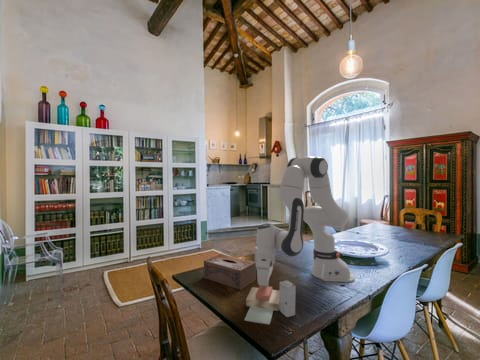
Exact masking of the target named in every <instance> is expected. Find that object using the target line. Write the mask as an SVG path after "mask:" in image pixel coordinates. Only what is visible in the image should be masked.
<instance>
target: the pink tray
mask: <svg viewBox="0 0 480 360" xmlns="http://www.w3.org/2000/svg"><path fill="white" fill-rule="evenodd" d="M257 288H258V290H257V292H256V299H259V300H267V301H269V300H270V297H271V294H272V290H273V286H269V285H268V286H259V285H258V287H257Z"/></svg>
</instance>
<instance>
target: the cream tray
mask: <svg viewBox="0 0 480 360" xmlns="http://www.w3.org/2000/svg"><path fill="white" fill-rule="evenodd" d="M258 288H259V287H255V286H254V287H253V286H252V287H251V288H250V291H249V293H248V295H247V297H246V299H245V307H249V308H250V306H253V307H260V308H267V309H273V312H274V311H276V312H279V311H280V310H279V289H277V290H276V289H272V294H271V297H270V300H269V301H267V300H259V299H256V292H257V290H258Z"/></svg>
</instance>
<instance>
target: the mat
mask: <svg viewBox="0 0 480 360" xmlns="http://www.w3.org/2000/svg"><path fill="white" fill-rule="evenodd" d="M273 313H274V310H273V309H267V308H260V307H253V306H250V307H249V309H248V311H247V313H246V316H245V317H244V321H246V322H251V323H256V324H257V323H258V324H264V325H268V326H269V325H271V322H272V317H273Z"/></svg>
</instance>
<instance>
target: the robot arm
mask: <svg viewBox="0 0 480 360" xmlns="http://www.w3.org/2000/svg"><path fill="white" fill-rule="evenodd" d="M328 169H329V164H328V162H327V160H326V159H325V158H324V157H321V156H300V157H292V158H290V159H289V161H288V162H287V166H286V169H285V171H284V173H283V175H282V179H281V183H280V188H279V200H280V201H281V202H282V203H283V204H284V205H285V207H286V208H287V209H288V213H289V220H288V221H289V223H288V230H287V229H286V230H285V229H283V228H280V227H277V226H275V225H274V224H273V223H262V224H260V225H259V226H258V228H257V229H256V230H257V231H256V247H257V260H256V267H257V269H256V280H257V284H258V287H259V286H269V281H270V277H271V275H272V272H273V269H274V264H276V251H277V250H279V251H281V252H283V253H285V255H287V256H289V257H295V256H297V255H299V254H300V253H301V252H302V250H303V249H304V239H303V226H304V222H305V223H306V224H307V225H308V227H309V228H310V230H311V233H312V237H313V245H314V246H313V252H312V255H313V264H312V269H311V275H313V277H315V278H318V279H320V280H322V281H324V282H340V283H341V282H342V283H345V282H347V283H353V282H354V281H355V276H354V274H353V272H351V271H350V267H349V265H348V264H347V263H346V262H345V261H344V260H343V259H341V258H340V257H341V254H340V253H339V252H338V250H335V249H336V247H335V244H336V243H335V236H334V235H333V234H332V233H331V232H329V231H328V230H327V228H326V227H329V228H344V227H346V225H347V223H348V221H349V215H348V213H347V211H346V210H345V209H344V208H342V207H341V206H339V204H338V203H337V202H336V201H335V198H334V197H333V194H332V189H331V183H330V178H329V173H328ZM307 178H308V181H307V182H308V188H309V193H310V198H311V200H312V201H313V202H314V203H316V204H317V205H311V206H304V202H303V192H304V186H305V179H307Z"/></svg>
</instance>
